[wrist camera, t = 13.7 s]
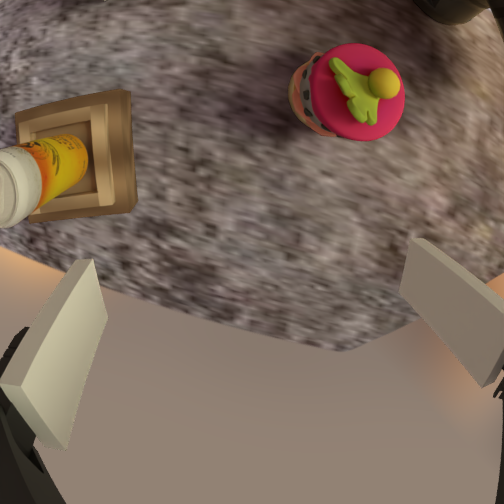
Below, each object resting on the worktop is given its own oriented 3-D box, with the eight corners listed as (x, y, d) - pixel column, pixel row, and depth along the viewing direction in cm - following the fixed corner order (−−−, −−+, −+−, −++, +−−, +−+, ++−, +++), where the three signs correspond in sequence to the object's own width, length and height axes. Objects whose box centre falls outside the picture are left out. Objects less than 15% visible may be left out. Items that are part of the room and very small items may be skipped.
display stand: (33, 111, 31) (8, 113, 25) (130, 91, 33) (116, 87, 27) (45, 211, 37) (24, 227, 31) (138, 200, 38) (126, 216, 33)
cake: (323, 41, 33) (382, 12, 19) (375, 99, 37) (448, 102, 23) (267, 92, 35) (303, 81, 22) (325, 150, 39) (383, 173, 26)
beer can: (91, 131, 29) (18, 149, 16) (91, 185, 32) (25, 234, 18) (45, 134, 28) (-38, 157, 15) (46, 186, 31) (-29, 233, 17)
